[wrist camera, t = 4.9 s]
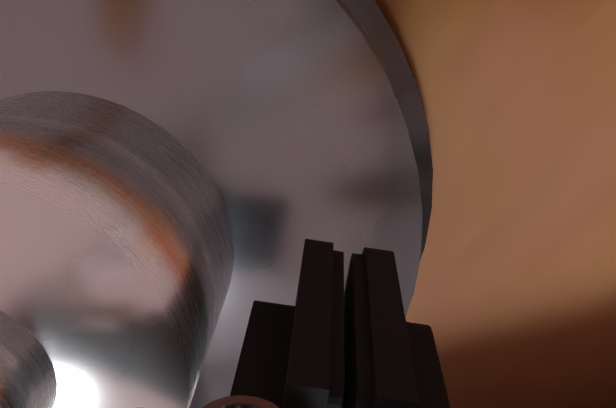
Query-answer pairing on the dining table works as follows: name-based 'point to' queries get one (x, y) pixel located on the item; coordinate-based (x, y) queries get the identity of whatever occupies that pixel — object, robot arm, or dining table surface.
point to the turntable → (245, 127)
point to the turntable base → (400, 94)
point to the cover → (104, 257)
